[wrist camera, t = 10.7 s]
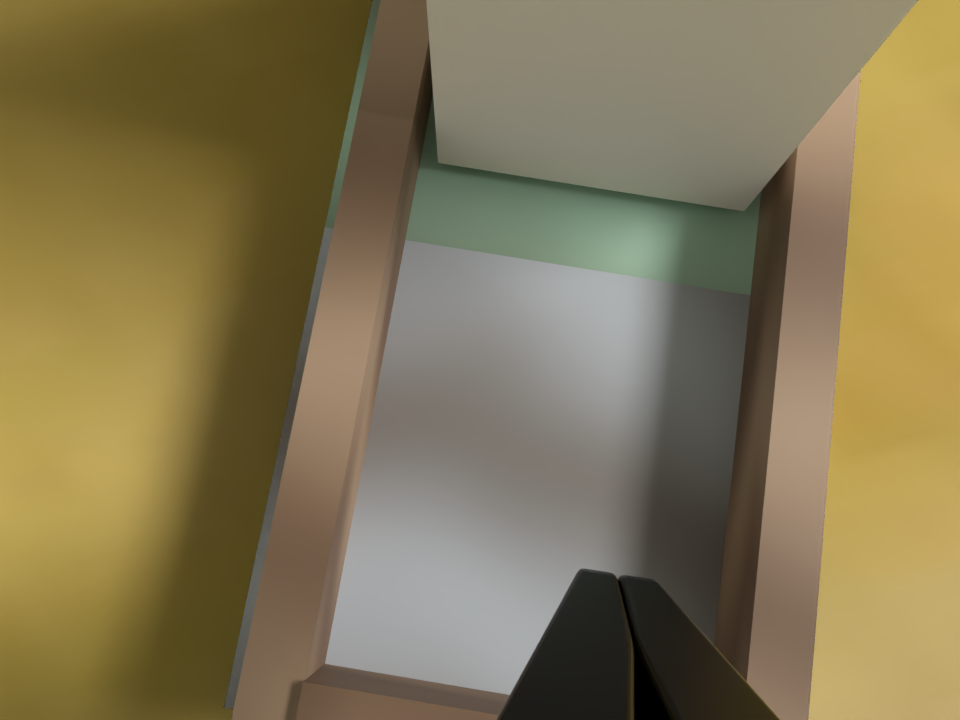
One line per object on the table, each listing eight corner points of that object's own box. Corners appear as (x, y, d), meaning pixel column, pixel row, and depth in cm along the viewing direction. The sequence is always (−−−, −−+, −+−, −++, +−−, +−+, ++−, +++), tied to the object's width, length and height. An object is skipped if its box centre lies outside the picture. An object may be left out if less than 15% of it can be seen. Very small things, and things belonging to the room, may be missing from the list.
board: (775, 792, 16) (843, 845, 13) (235, 700, 16) (185, 732, 14) (849, -67, 20) (916, -173, 17) (408, -134, 20) (398, -250, 17)
